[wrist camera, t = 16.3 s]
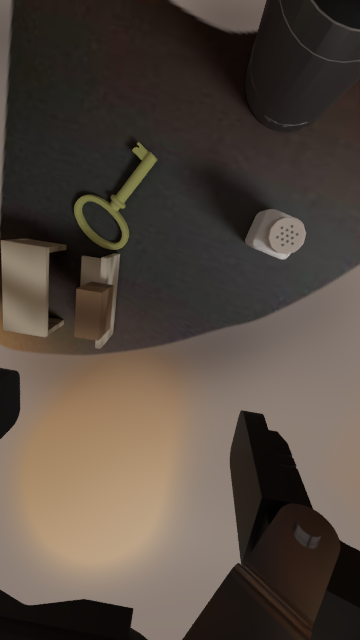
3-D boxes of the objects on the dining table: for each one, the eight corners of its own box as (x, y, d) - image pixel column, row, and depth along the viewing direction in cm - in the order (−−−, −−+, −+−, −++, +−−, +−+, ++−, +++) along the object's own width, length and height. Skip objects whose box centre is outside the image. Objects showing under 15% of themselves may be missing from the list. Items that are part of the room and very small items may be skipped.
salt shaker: (257, 210, 34) (277, 203, 25) (289, 223, 35) (319, 222, 26) (242, 243, 36) (255, 248, 27) (273, 256, 36) (296, 266, 27)
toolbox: (26, 238, 37) (0, 240, 33) (66, 245, 37) (46, 247, 32) (26, 318, 41) (3, 330, 36) (63, 324, 40) (45, 337, 36)
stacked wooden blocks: (84, 248, 37) (46, 254, 28) (127, 255, 37) (103, 264, 28) (79, 328, 40) (45, 356, 31) (120, 334, 40) (96, 365, 31)
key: (162, 155, 34) (159, 151, 32) (122, 256, 38) (117, 257, 36) (103, 126, 34) (97, 119, 31) (69, 230, 37) (61, 230, 35)
